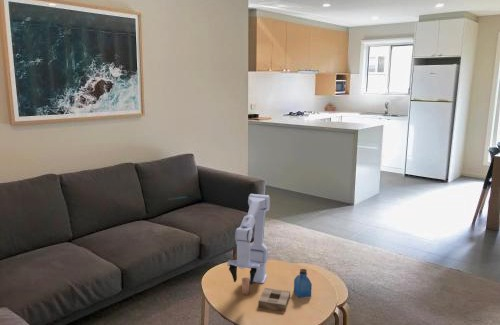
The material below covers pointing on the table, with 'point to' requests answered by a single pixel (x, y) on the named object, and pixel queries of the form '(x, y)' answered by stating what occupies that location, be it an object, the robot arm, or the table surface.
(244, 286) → the peg
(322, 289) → the table surface
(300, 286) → the perfume bottle
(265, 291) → the socket
